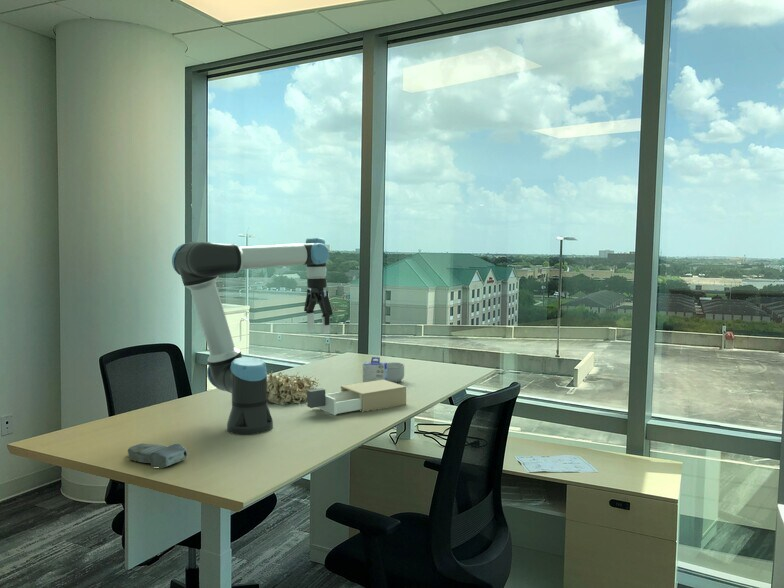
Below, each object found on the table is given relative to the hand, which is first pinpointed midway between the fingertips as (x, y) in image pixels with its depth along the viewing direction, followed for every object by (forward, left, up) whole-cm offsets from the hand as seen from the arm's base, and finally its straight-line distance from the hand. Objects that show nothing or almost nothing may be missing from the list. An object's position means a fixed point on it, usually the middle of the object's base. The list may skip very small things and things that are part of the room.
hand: (318, 331), depth 240 cm
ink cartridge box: (+28, +2, -29) cm, 40 cm away
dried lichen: (-9, +16, -29) cm, 34 cm away
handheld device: (-71, -31, -29) cm, 83 cm away
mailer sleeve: (+16, -15, -28) cm, 36 cm away
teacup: (+45, +15, -29) cm, 55 cm away
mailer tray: (+1, -15, -27) cm, 31 cm away
